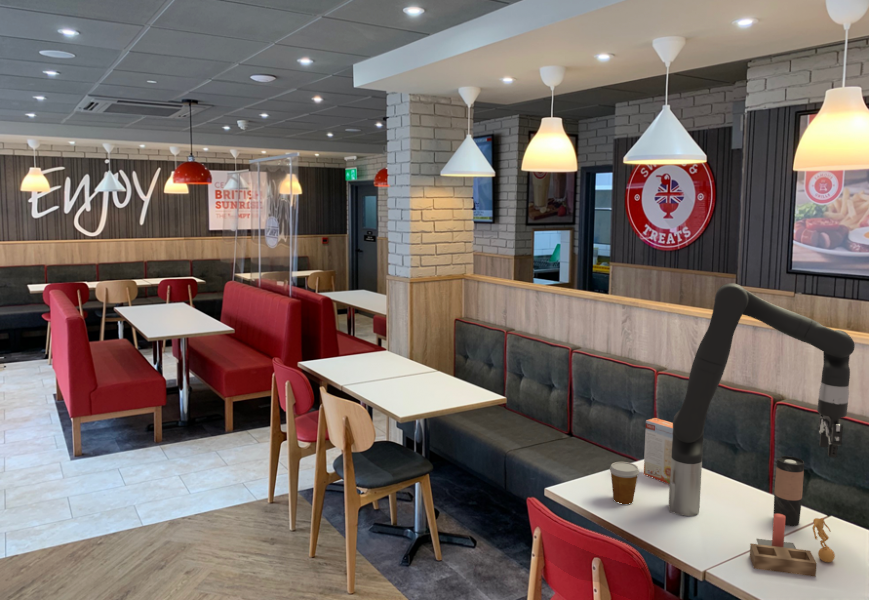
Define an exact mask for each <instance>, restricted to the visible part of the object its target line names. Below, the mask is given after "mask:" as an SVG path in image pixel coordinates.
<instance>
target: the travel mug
mask: <svg viewBox="0 0 869 600" xmlns="http://www.w3.org/2000/svg"><path fill="white" fill-rule="evenodd" d="M775 468H776V469H775V480H774V481H775V482H774V493H773V495H774V496H773V515H774V514H782V515H785V516H786V519H785V527H786V526H787V527H797V526H799V525H800V521H801V520H800V519H801V512H802V511H801V510H802V500H803V488H804V487H803V486H804V473H805V461H804V460H803V459H801V458H798V457H795V456H790V455H782V456H780V457H779V458H778V457H777V458H776V467H775Z"/></svg>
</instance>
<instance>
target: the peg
mask: <svg viewBox="0 0 869 600" xmlns="http://www.w3.org/2000/svg"><path fill="white" fill-rule="evenodd" d="M785 519H786V516H785V515H782V514H774V513H773V522H772V525H773V526H772V539H771V540H772V546H776V547H783V546H784V542H785V531H786V526H785Z"/></svg>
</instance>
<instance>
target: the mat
mask: <svg viewBox="0 0 869 600" xmlns="http://www.w3.org/2000/svg"><path fill="white" fill-rule="evenodd" d="M756 541H757V542H756V543H757V544H760V545H768V546H772V539H766V538H765V539H763V538H756ZM783 547H784V548H792V549H797V548H796V547H797V546H796V545H795V543H794V542H788V541H784V546H783Z"/></svg>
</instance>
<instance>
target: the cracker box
mask: <svg viewBox="0 0 869 600" xmlns="http://www.w3.org/2000/svg"><path fill="white" fill-rule="evenodd" d="M644 431H645V433H644V434H645V435H644V436H645V437H644V457H643V458H644V459H643V475H644V474H645V475H644V476H646V475H648V476H647V477H649V476H650V477H649V478H651V477H653V478H652V479H654V478H655V480H657V481H659V480H660V481H659V482H662V483H664V482H665V484H667V485H670V477H671V456H672V441H673V422H671V421H667V420H665V419H662V418H661V419H660V418H658V417H652V418H650V419H646V420H645V430H644Z"/></svg>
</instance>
